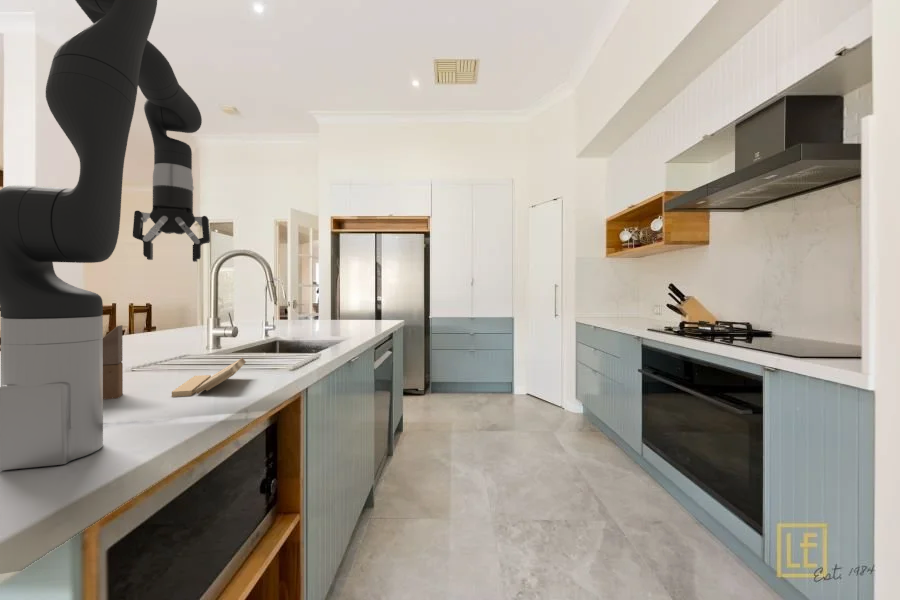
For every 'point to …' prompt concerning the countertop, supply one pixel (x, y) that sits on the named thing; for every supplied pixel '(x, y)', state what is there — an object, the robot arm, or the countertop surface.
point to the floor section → (190, 386)
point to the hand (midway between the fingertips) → (172, 260)
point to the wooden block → (112, 364)
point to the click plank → (221, 376)
